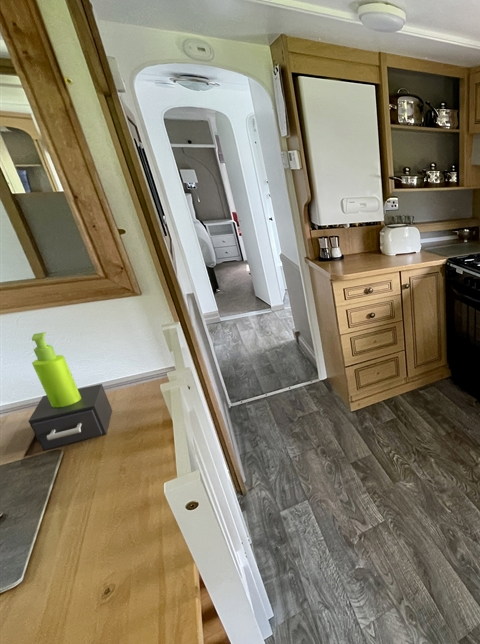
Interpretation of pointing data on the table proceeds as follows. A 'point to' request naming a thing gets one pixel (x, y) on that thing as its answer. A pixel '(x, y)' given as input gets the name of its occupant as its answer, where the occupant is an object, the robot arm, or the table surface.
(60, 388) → the soap dispenser
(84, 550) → the table surface
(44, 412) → the cabinet
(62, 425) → the drawer
